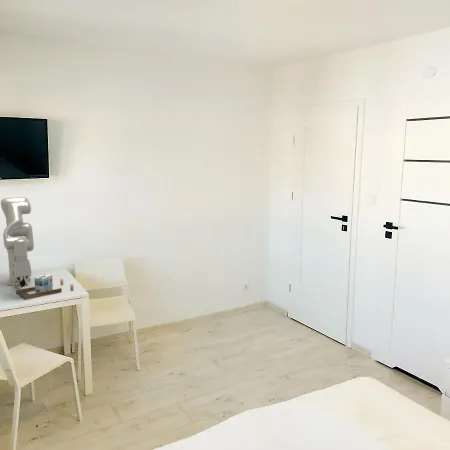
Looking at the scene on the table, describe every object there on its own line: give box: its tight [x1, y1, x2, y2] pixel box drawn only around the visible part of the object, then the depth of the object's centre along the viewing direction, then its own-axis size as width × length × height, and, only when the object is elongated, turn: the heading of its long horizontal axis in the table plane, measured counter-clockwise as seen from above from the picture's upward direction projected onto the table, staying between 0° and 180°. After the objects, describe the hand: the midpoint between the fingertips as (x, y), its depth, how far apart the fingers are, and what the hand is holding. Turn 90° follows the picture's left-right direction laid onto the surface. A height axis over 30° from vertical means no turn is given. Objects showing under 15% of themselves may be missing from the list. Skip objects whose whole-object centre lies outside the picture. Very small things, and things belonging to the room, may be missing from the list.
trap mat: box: [16, 292, 30, 300], centre depth 295 cm, size 12×6×1 cm, turn 43°
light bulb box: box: [33, 273, 54, 293], centre depth 302 cm, size 11×7×11 cm, turn 168°
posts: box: [59, 278, 74, 292], centre depth 313 cm, size 18×2×4 cm, turn 43°
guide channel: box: [15, 286, 62, 300], centre depth 301 cm, size 15×24×2 cm, turn 133°
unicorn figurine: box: [13, 277, 31, 290], centre depth 311 cm, size 7×20×13 cm, turn 3°
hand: (22, 286), depth 292 cm, fingers closed
